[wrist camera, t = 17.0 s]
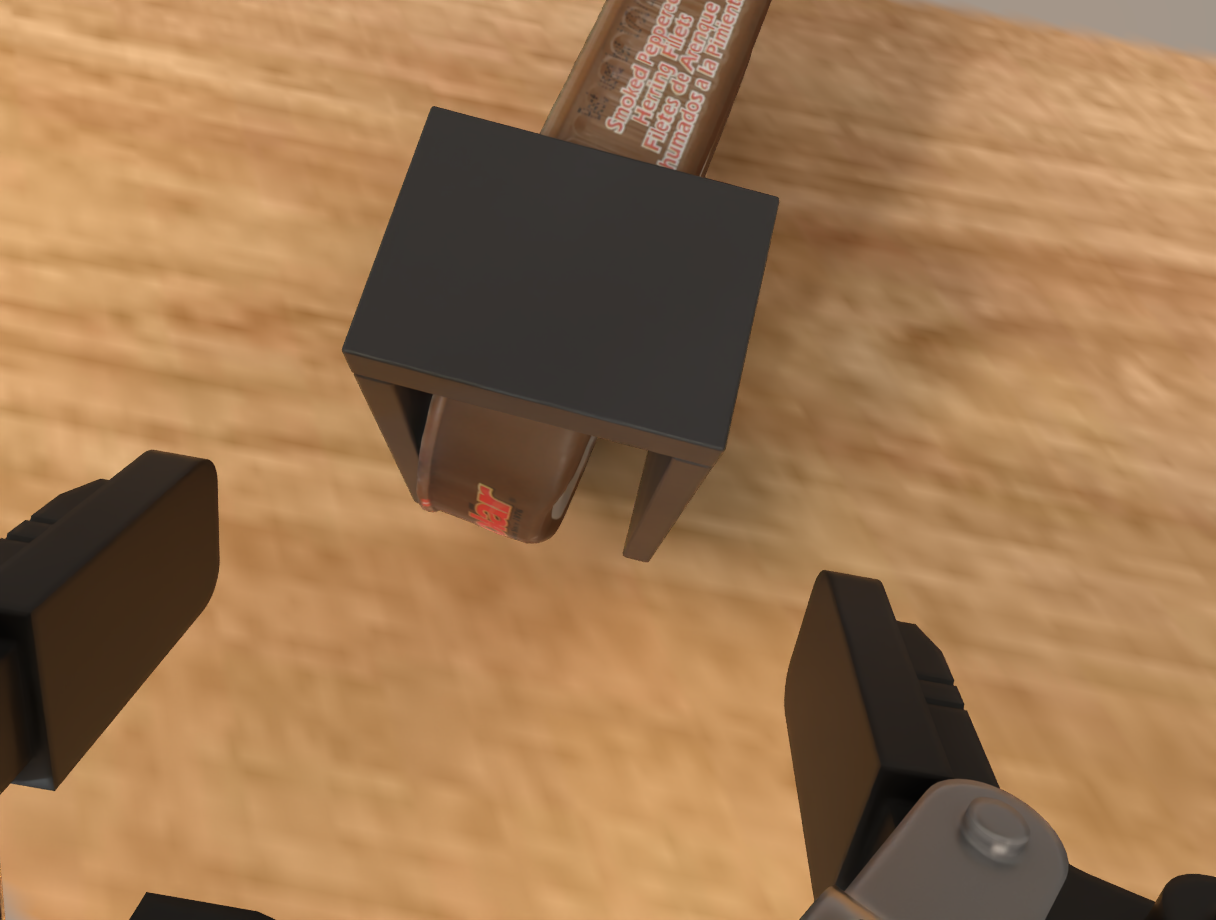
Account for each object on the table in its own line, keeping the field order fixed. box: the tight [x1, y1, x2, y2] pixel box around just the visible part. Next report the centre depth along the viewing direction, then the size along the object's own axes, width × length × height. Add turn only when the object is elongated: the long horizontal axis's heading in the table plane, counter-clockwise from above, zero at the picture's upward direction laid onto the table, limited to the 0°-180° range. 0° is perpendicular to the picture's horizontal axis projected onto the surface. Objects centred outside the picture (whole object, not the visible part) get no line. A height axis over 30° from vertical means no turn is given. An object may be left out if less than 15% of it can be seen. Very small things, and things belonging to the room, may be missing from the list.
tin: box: [416, 0, 772, 543], centre depth 19 cm, size 15×3×8 cm, turn 160°
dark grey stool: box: [342, 106, 779, 562], centre depth 16 cm, size 5×4×8 cm
